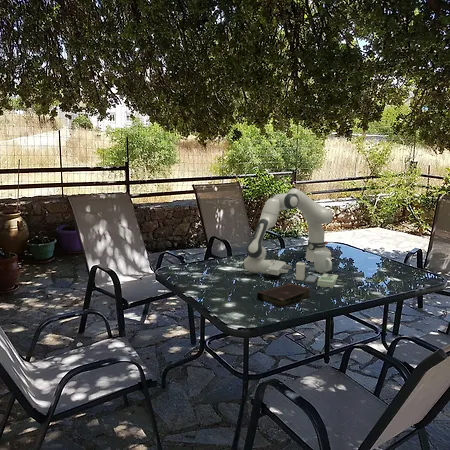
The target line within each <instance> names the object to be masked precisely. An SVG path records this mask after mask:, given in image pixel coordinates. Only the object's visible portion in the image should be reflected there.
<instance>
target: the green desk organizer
mask: <svg viewBox="0 0 450 450" xmlns="http://www.w3.org/2000/svg"><path fill="white" fill-rule="evenodd" d="M337 278H338V279H339V274H331V273H330V274H329V273H322V275H321V276H319V277H318V279H317V282H316V283H317V284H316V287H318V286H320V288H326V287H330V288H329V289H333V288H334V287H335V285H334V284H336V283H337V281H338V279H337ZM336 280H337V281H336ZM335 282H336V283H335ZM333 286H334V287H333Z"/></svg>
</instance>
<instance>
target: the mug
mask: <svg viewBox="0 0 450 450" xmlns="http://www.w3.org/2000/svg"><path fill="white" fill-rule="evenodd" d="M331 257H332V252H331V253H330V252H327V251H315V252H314V263H313V265H314V270H315V271H316V273H318V272H319V274H327V273H328V272H330V271H332V269H333V262H332V261H331ZM326 272H327V273H326Z"/></svg>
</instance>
